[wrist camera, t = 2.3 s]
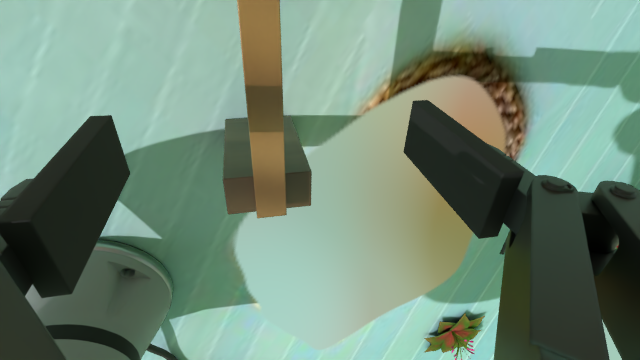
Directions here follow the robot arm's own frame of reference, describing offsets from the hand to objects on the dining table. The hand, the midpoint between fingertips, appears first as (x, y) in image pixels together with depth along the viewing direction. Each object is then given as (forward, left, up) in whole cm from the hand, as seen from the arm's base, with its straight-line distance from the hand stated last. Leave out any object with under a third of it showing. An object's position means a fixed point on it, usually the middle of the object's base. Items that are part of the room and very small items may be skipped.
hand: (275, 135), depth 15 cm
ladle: (+1, 0, -16) cm, 16 cm away
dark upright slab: (-7, 0, -16) cm, 17 cm away
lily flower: (-48, -31, -16) cm, 59 cm away
